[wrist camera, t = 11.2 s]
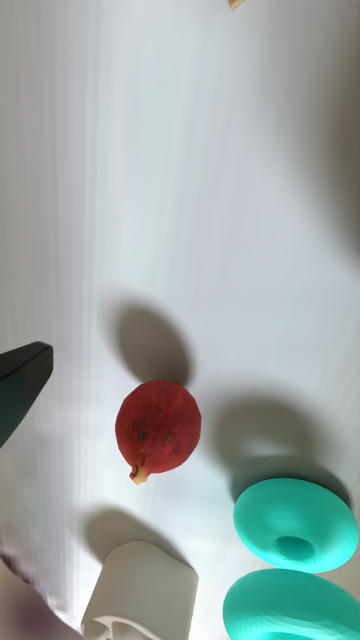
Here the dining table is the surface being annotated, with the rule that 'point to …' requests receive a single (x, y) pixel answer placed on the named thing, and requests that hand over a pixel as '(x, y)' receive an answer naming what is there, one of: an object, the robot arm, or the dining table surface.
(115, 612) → the lumpy-topped squat cylinder
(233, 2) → the oak base
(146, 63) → the dining table surface
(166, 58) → the dining table surface
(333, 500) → the donuts
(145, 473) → the red rounded piece
